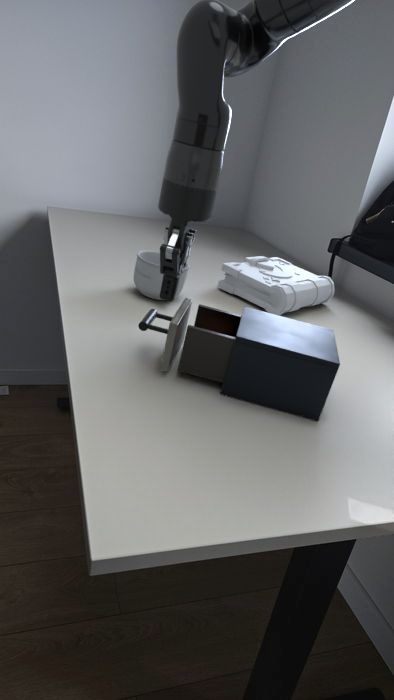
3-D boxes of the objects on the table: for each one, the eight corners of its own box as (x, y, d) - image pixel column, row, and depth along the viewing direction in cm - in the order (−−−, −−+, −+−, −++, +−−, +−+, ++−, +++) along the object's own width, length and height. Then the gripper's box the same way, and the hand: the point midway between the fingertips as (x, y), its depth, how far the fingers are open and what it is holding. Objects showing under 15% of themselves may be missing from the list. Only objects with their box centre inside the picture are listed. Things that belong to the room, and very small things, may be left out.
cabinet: (220, 394, 72) (236, 336, 68) (230, 358, 83) (244, 306, 79) (318, 421, 71) (340, 364, 67) (314, 381, 82) (333, 329, 78)
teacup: (131, 281, 107) (137, 245, 103) (180, 289, 109) (187, 254, 105) (130, 306, 94) (136, 266, 91) (185, 315, 96) (194, 276, 93)
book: (339, 303, 124) (350, 275, 121) (279, 321, 104) (289, 287, 101) (277, 276, 135) (285, 249, 131) (212, 287, 115) (219, 255, 111)
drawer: (128, 361, 73) (136, 313, 70) (148, 332, 83) (156, 289, 80) (248, 394, 72) (262, 347, 69) (254, 361, 82) (266, 319, 79)
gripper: (210, 193, 60) (182, 320, 68) (223, 182, 72) (198, 291, 80) (151, 178, 61) (130, 306, 69) (174, 170, 73) (154, 280, 80)
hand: (167, 298), depth 74 cm, fingers closed
